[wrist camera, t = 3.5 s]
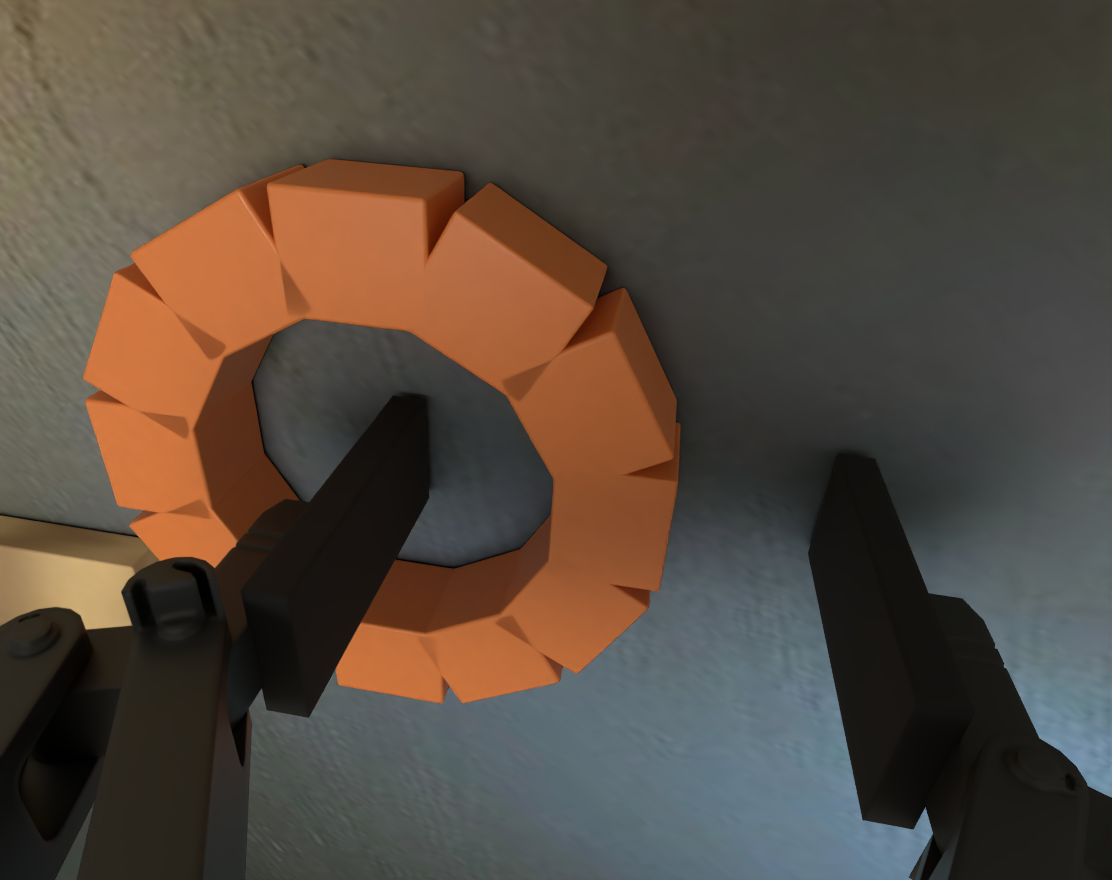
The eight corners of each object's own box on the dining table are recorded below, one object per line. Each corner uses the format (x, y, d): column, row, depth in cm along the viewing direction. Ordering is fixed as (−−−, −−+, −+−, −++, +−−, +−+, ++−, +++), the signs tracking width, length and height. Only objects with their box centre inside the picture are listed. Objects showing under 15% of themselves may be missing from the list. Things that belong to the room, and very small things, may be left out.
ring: (719, 195, 13) (723, 228, 11) (639, 664, 20) (633, 739, 18) (100, 136, 15) (5, 156, 13) (214, 592, 21) (163, 654, 19)
